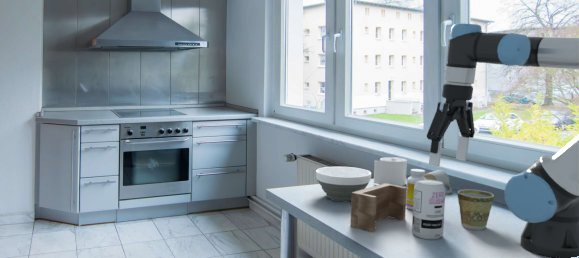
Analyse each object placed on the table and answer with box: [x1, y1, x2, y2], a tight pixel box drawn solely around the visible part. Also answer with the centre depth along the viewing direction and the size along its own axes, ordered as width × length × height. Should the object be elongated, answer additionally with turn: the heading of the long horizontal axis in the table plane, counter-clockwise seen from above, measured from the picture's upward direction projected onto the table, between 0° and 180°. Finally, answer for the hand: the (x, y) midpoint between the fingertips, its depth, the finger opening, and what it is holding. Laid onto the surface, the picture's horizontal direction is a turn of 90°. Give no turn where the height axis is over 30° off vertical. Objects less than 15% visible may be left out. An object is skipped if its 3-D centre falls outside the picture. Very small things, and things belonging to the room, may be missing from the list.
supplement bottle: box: [406, 168, 426, 211], centre depth 164 cm, size 7×7×13 cm
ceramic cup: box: [457, 188, 495, 231], centre depth 146 cm, size 13×10×10 cm
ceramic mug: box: [424, 169, 452, 195], centre depth 189 cm, size 11×8×8 cm
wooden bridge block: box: [349, 183, 407, 233], centre depth 147 cm, size 8×18×10 cm, turn 137°
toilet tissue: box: [373, 156, 408, 187], centre depth 200 cm, size 11×12×10 cm
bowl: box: [315, 166, 372, 202], centre depth 176 cm, size 20×20×10 cm
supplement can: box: [411, 179, 447, 240], centre depth 136 cm, size 8×8×15 cm
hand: (447, 162), depth 134 cm, fingers open, 13 cm apart
